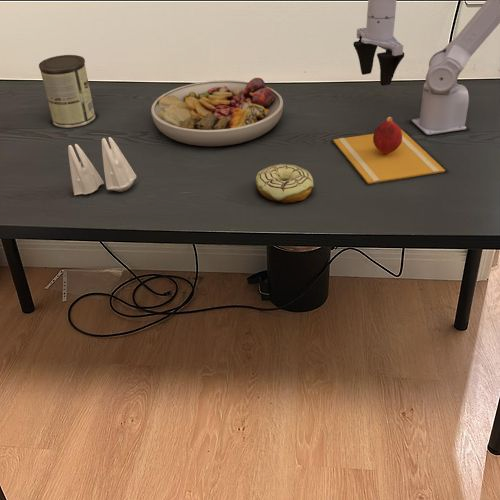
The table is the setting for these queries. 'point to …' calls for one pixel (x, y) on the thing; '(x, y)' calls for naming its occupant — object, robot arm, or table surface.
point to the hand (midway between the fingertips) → (375, 79)
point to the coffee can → (67, 90)
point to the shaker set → (88, 178)
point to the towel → (387, 159)
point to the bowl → (218, 112)
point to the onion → (387, 136)
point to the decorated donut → (284, 183)
